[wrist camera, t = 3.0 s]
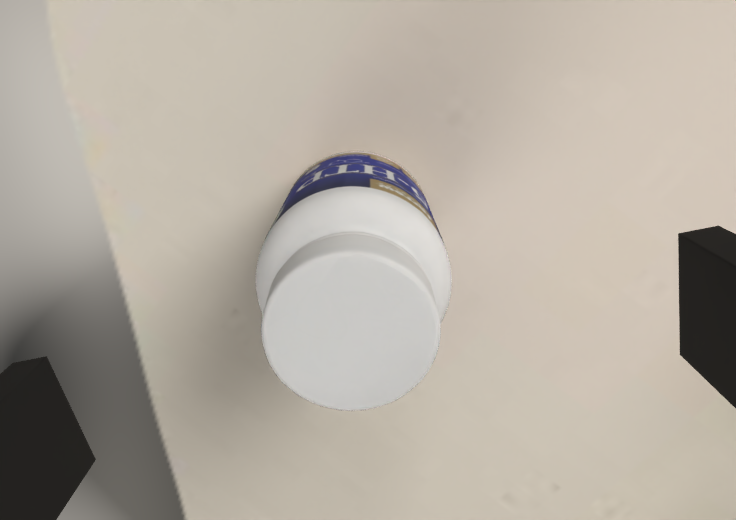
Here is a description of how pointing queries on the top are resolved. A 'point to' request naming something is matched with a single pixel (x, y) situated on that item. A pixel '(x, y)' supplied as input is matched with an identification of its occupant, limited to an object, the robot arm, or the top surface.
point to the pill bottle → (353, 284)
